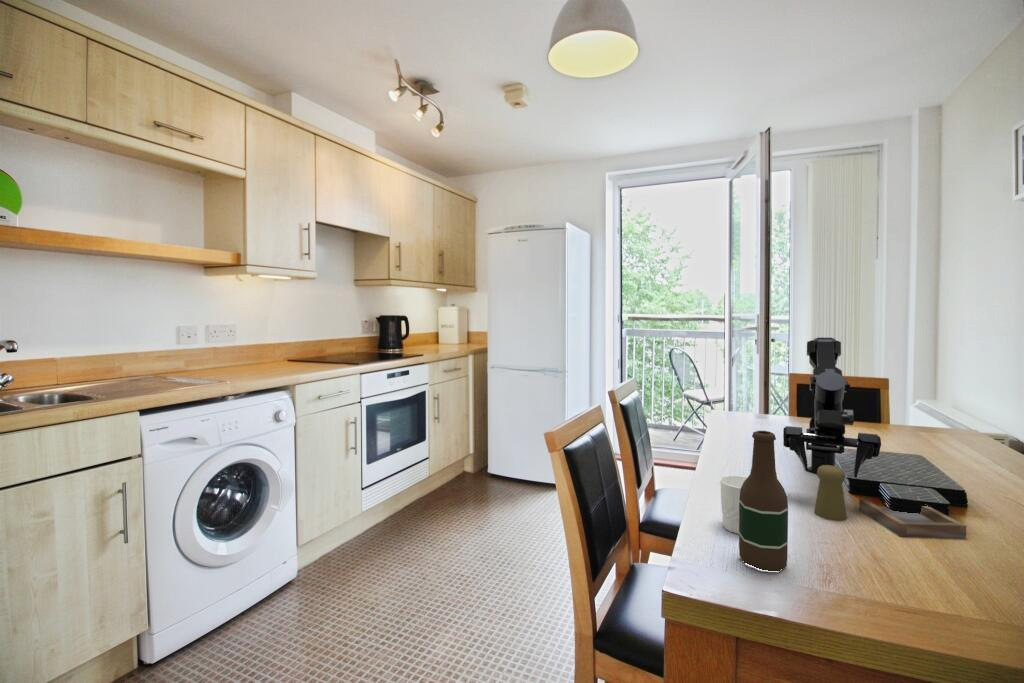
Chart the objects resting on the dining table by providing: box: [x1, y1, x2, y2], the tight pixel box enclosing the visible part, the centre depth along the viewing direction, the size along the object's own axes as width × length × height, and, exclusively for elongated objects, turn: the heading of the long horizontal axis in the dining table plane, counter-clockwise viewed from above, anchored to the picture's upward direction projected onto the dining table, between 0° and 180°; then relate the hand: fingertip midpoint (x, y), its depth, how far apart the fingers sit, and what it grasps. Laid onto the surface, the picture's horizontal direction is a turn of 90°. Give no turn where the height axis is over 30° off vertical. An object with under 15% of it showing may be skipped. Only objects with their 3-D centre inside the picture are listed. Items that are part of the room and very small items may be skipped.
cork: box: [813, 465, 848, 522], centre depth 105 cm, size 6×6×11 cm
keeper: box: [858, 498, 967, 540], centre depth 100 cm, size 13×12×3 cm
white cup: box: [719, 475, 748, 535], centre depth 99 cm, size 8×8×10 cm
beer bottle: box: [738, 430, 789, 572], centre depth 85 cm, size 8×8×24 cm
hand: (830, 473), depth 106 cm, fingers open, 9 cm apart
